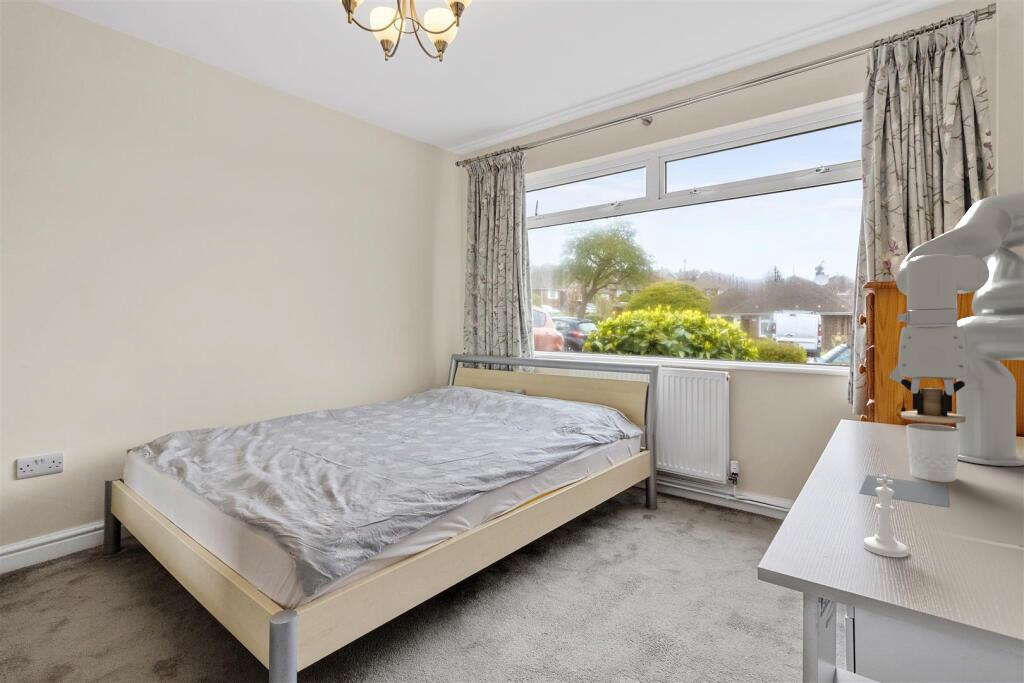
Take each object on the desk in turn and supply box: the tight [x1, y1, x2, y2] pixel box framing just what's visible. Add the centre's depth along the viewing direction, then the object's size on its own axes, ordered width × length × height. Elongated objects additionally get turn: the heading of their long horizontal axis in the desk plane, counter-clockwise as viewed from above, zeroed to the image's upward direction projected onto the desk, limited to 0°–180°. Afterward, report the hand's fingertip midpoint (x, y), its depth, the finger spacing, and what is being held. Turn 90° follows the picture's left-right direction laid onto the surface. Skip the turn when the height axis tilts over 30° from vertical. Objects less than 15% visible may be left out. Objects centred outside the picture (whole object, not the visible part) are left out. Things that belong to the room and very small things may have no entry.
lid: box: [900, 387, 965, 424], centre depth 98 cm, size 10×10×6 cm
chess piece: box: [862, 474, 909, 558], centre depth 67 cm, size 5×5×10 cm
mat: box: [858, 474, 950, 508], centre depth 91 cm, size 14×12×1 cm
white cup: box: [906, 423, 959, 483], centre depth 98 cm, size 8×8×10 cm
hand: (932, 413), depth 98 cm, fingers closed on lid, 3 cm apart
